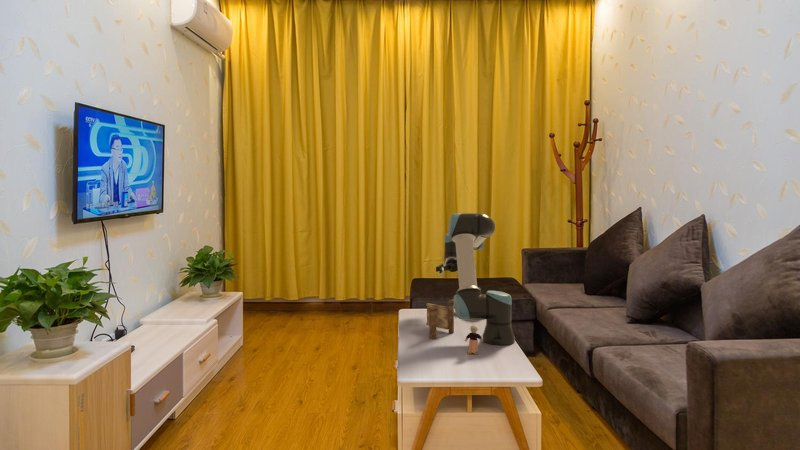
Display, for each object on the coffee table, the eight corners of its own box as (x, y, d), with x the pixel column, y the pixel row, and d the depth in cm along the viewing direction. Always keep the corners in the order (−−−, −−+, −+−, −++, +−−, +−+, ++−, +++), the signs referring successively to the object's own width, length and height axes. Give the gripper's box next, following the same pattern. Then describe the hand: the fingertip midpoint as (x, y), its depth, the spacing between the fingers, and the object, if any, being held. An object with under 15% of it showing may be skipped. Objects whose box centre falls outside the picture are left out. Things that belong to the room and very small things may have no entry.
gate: (449, 329, 261) (449, 307, 260) (447, 329, 260) (447, 307, 259) (428, 324, 270) (428, 303, 269) (426, 325, 269) (426, 303, 268)
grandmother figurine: (465, 354, 225) (465, 326, 224) (464, 352, 229) (464, 323, 228) (483, 354, 225) (483, 326, 224) (481, 352, 229) (482, 323, 228)
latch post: (437, 338, 250) (437, 307, 249) (432, 339, 248) (432, 308, 247) (433, 337, 252) (433, 306, 251) (428, 338, 250) (428, 307, 249)
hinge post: (455, 333, 259) (455, 299, 258) (450, 334, 258) (450, 300, 256) (451, 331, 262) (452, 298, 260) (446, 332, 260) (447, 299, 259)
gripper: (474, 270, 292) (480, 279, 271) (430, 270, 292) (432, 279, 271) (474, 257, 291) (480, 265, 270) (430, 257, 291) (432, 265, 270)
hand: (456, 272), depth 270 cm, fingers open, 13 cm apart
